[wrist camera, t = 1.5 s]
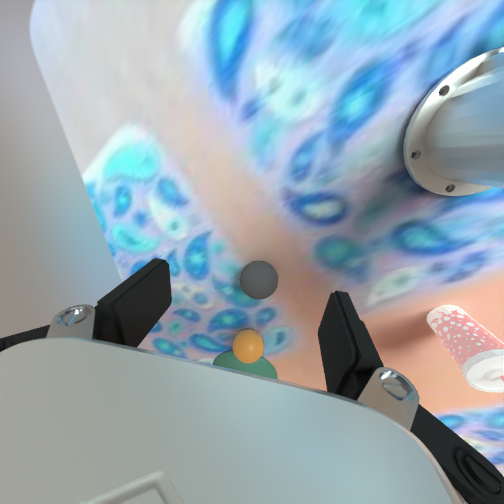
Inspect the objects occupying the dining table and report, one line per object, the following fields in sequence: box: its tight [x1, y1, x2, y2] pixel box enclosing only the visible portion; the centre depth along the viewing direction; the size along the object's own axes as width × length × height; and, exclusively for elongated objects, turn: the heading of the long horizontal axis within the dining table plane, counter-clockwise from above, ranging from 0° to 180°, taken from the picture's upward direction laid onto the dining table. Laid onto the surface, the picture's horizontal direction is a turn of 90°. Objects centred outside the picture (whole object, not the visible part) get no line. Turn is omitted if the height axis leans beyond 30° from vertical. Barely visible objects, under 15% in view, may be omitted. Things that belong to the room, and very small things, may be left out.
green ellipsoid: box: [213, 351, 277, 379], centre depth 43 cm, size 14×14×1 cm
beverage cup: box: [427, 305, 504, 392], centre depth 24 cm, size 6×6×14 cm
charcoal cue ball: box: [240, 261, 278, 299], centre depth 30 cm, size 6×6×6 cm
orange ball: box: [233, 329, 264, 364], centre depth 36 cm, size 6×6×6 cm
